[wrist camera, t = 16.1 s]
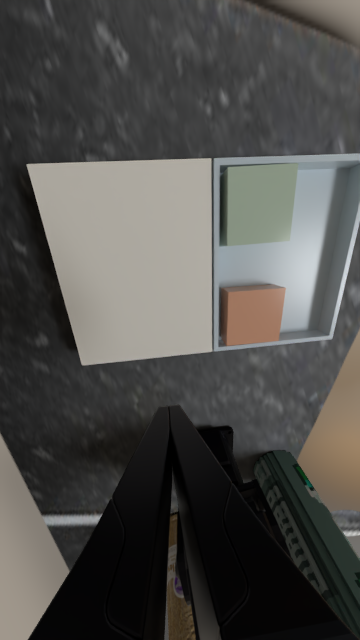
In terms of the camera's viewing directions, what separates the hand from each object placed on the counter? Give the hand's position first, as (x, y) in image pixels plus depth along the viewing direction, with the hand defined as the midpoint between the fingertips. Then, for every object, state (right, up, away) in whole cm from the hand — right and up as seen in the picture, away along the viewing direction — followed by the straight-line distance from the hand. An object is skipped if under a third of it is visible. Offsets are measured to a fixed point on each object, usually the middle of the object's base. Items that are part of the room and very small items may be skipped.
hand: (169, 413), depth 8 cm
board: (-3, +8, +10) cm, 13 cm away
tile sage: (+6, +13, +8) cm, 16 cm away
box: (+9, +9, +11) cm, 17 cm away
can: (+14, -18, +22) cm, 32 cm away
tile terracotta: (+7, +5, +11) cm, 14 cm away
